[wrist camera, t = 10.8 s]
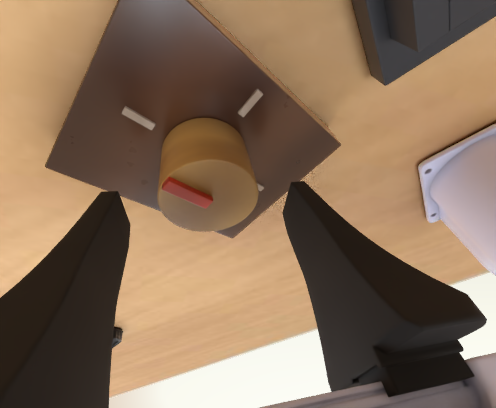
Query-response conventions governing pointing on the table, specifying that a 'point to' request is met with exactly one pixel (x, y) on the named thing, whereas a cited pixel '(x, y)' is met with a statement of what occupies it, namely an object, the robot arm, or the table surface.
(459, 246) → the table surface
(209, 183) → the dimmer knob
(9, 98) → the table surface
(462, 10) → the switch plate
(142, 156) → the dimmer plate
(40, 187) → the table surface
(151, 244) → the table surface
